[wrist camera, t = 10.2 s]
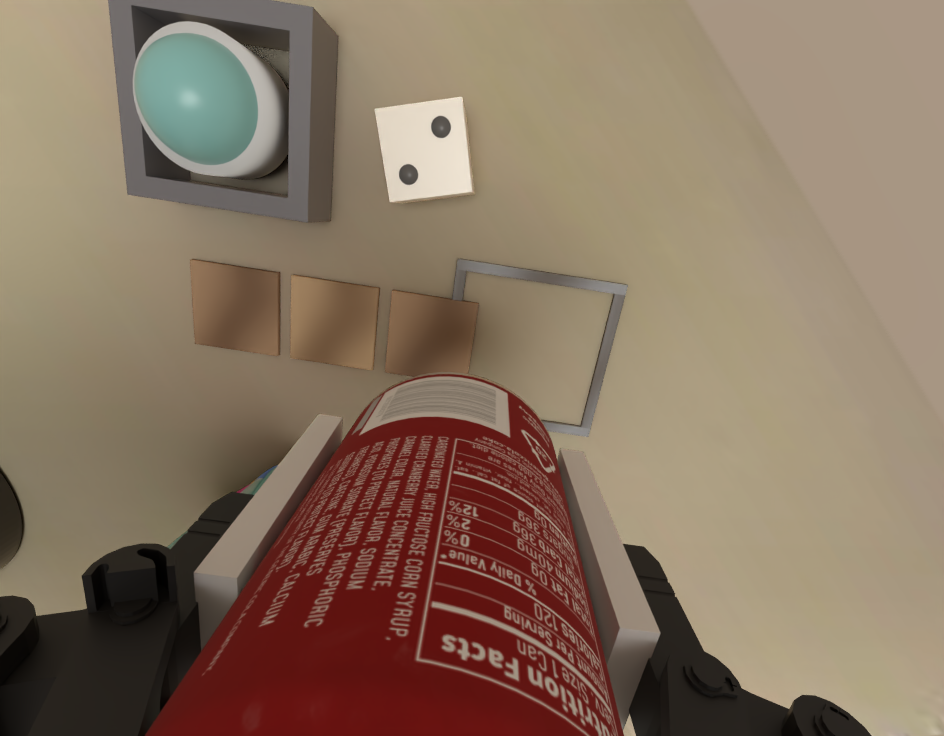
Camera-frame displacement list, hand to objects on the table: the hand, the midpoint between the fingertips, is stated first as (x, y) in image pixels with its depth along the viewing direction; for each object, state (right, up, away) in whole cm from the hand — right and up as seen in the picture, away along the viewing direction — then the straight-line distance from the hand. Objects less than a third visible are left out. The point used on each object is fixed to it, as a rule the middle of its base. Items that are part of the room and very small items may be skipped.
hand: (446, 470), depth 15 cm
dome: (-11, +16, +8) cm, 21 cm away
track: (-3, +5, +13) cm, 15 cm away
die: (-1, +15, +10) cm, 18 cm away
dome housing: (-11, +17, +10) cm, 22 cm away
